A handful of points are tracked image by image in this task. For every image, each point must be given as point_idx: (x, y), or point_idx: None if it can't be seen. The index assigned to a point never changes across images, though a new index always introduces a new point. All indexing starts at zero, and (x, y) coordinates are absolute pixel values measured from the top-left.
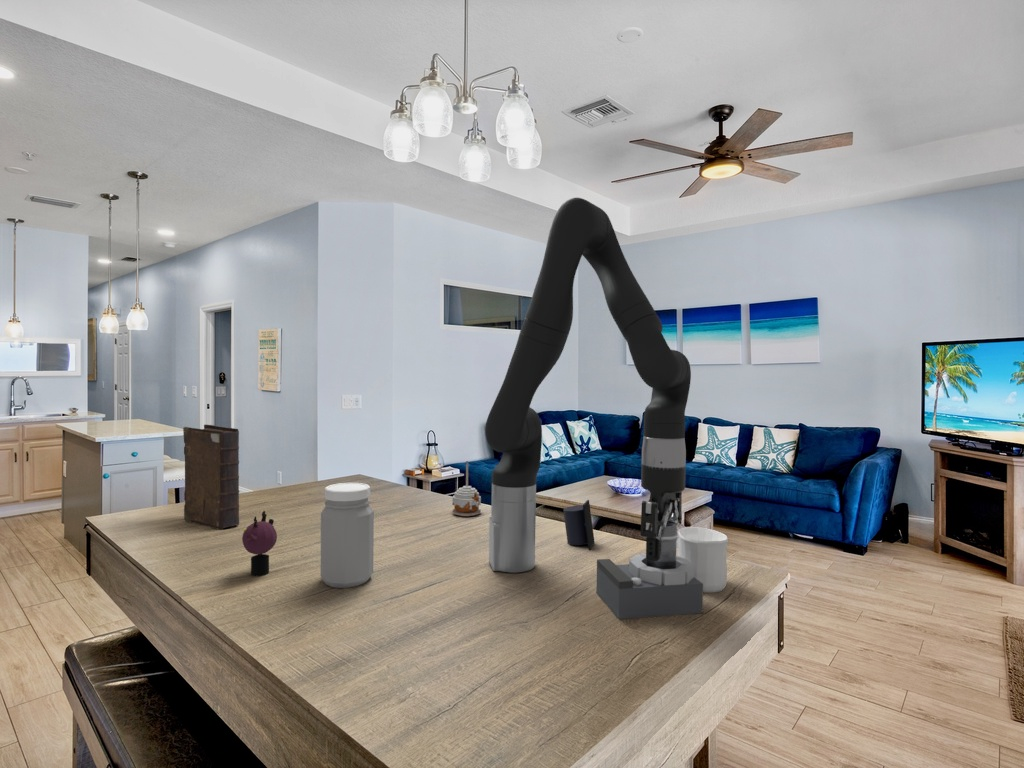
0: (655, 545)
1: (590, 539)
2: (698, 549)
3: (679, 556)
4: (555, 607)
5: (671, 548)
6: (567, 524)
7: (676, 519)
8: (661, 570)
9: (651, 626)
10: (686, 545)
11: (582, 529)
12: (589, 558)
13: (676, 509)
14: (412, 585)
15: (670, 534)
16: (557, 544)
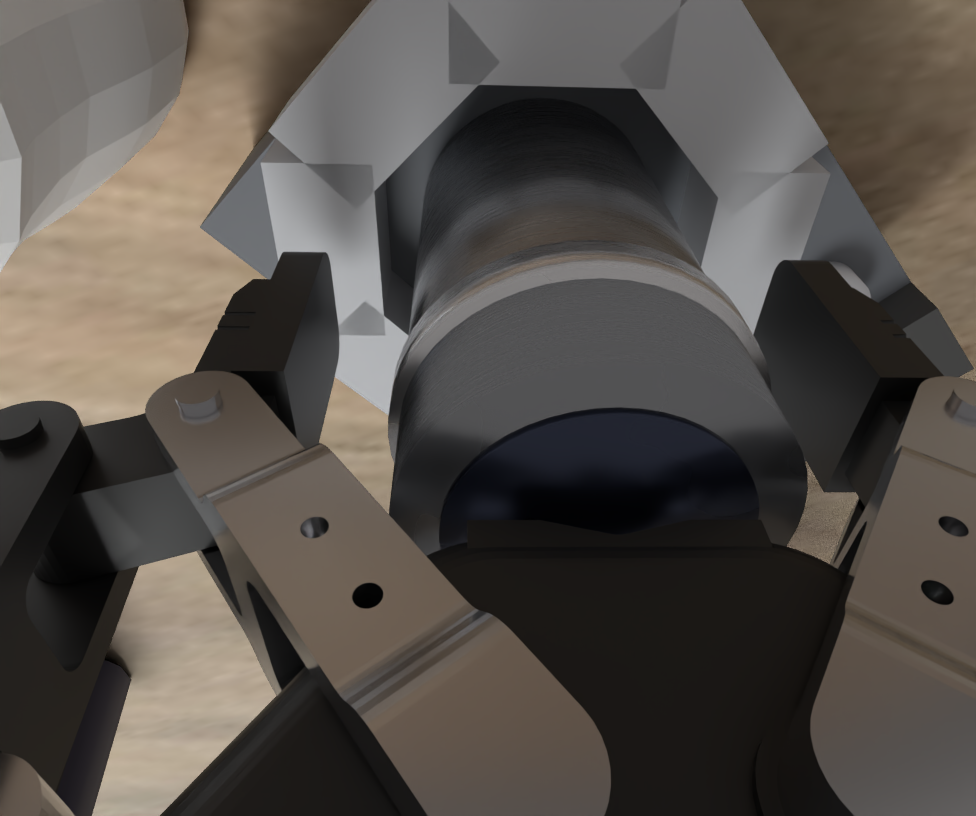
0: (920, 364)
1: None
2: (9, 27)
3: (263, 177)
4: (813, 488)
5: (660, 229)
6: (101, 779)
7: (328, 451)
8: (748, 196)
9: (910, 66)
10: (39, 188)
11: None
12: (204, 588)
13: (350, 606)
14: None
15: (725, 332)
16: (168, 703)
